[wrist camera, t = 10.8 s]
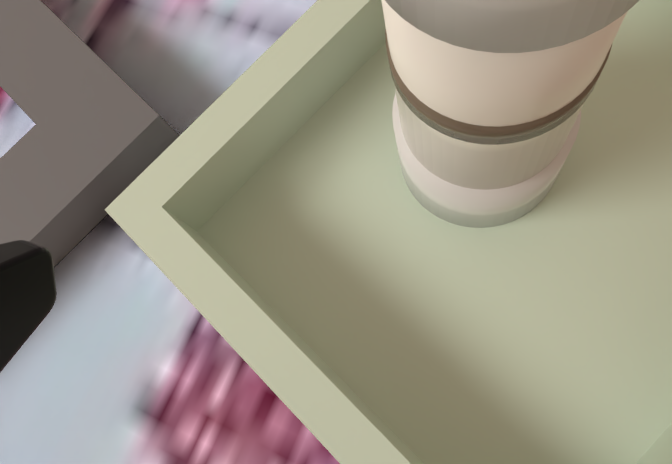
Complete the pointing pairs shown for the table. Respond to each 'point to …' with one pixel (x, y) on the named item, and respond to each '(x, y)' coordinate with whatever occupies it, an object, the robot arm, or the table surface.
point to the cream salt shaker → (492, 97)
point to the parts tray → (427, 260)
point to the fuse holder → (67, 132)
